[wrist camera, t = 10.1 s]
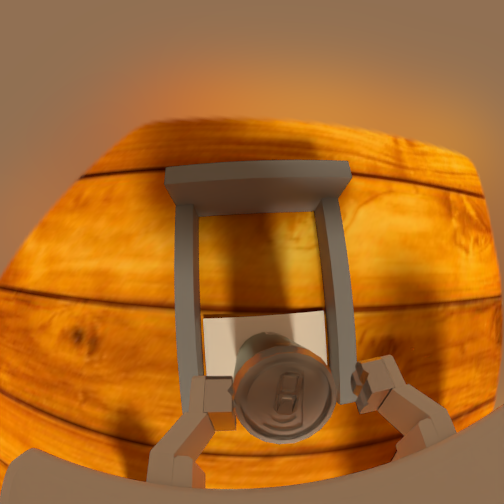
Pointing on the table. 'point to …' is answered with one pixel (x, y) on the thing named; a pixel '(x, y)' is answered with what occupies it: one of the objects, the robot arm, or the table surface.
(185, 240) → the bay
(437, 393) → the table surface
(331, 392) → the beer can
